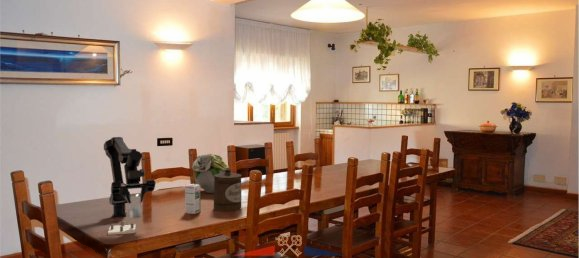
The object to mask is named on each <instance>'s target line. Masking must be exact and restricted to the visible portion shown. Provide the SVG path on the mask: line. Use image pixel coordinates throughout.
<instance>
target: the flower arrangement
mask: <svg viewBox="0 0 579 258" xmlns="http://www.w3.org/2000/svg"><path fill="white" fill-rule="evenodd" d="M226 168H230V167H229V165H227V163H226V162H225V161H224V160H223V157H222V156H221V155H217V154H213V153H205V154H202V155H198V156H197V157H196V159H195V160H194V161H193V163H192V166H191V169H192V170H193V171H194V181H195V184H199V185H200V189H202V190H204V192H205V193H207V194H214V175H216V174H220V173H225V172H226V171H225V169H226Z"/></svg>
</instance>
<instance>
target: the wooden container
mask: <svg viewBox="0 0 579 258" xmlns="http://www.w3.org/2000/svg"><path fill="white" fill-rule="evenodd" d="M231 170H232V169H231V168H230V167H228V168H226V169H225V171H226V172H225V173H220V174H216V175H214V193H213V209H214V210H215V211H218V210H219V212H235V211H238V209H239V210H240V208H241V209H242V174H240V173H234V172H233V173H232V171H231ZM234 210H235V211H234Z"/></svg>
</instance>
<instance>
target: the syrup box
mask: <svg viewBox="0 0 579 258" xmlns="http://www.w3.org/2000/svg"><path fill="white" fill-rule="evenodd" d="M184 199H185V200H184V205H185V210H184V211H185V214H190V215H196V214H198V213H201V209H202V208H201V207H202V205H201V188H200V185H199V184H196V183H190V184H187V185H185V186H184Z"/></svg>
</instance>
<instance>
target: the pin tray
mask: <svg viewBox="0 0 579 258" xmlns="http://www.w3.org/2000/svg"><path fill="white" fill-rule="evenodd" d="M120 223H121V224H120V225H114V223H113V224H112V223H111V224H110V226H109V228H108V231H107V235H108V236H112V235H124V234H125V235H126V234H135V233H136V227H137V224H136V223H135V224H134V222H131V223H130V224H125V221H124V220H123V221H122V220H121V222H120Z"/></svg>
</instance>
